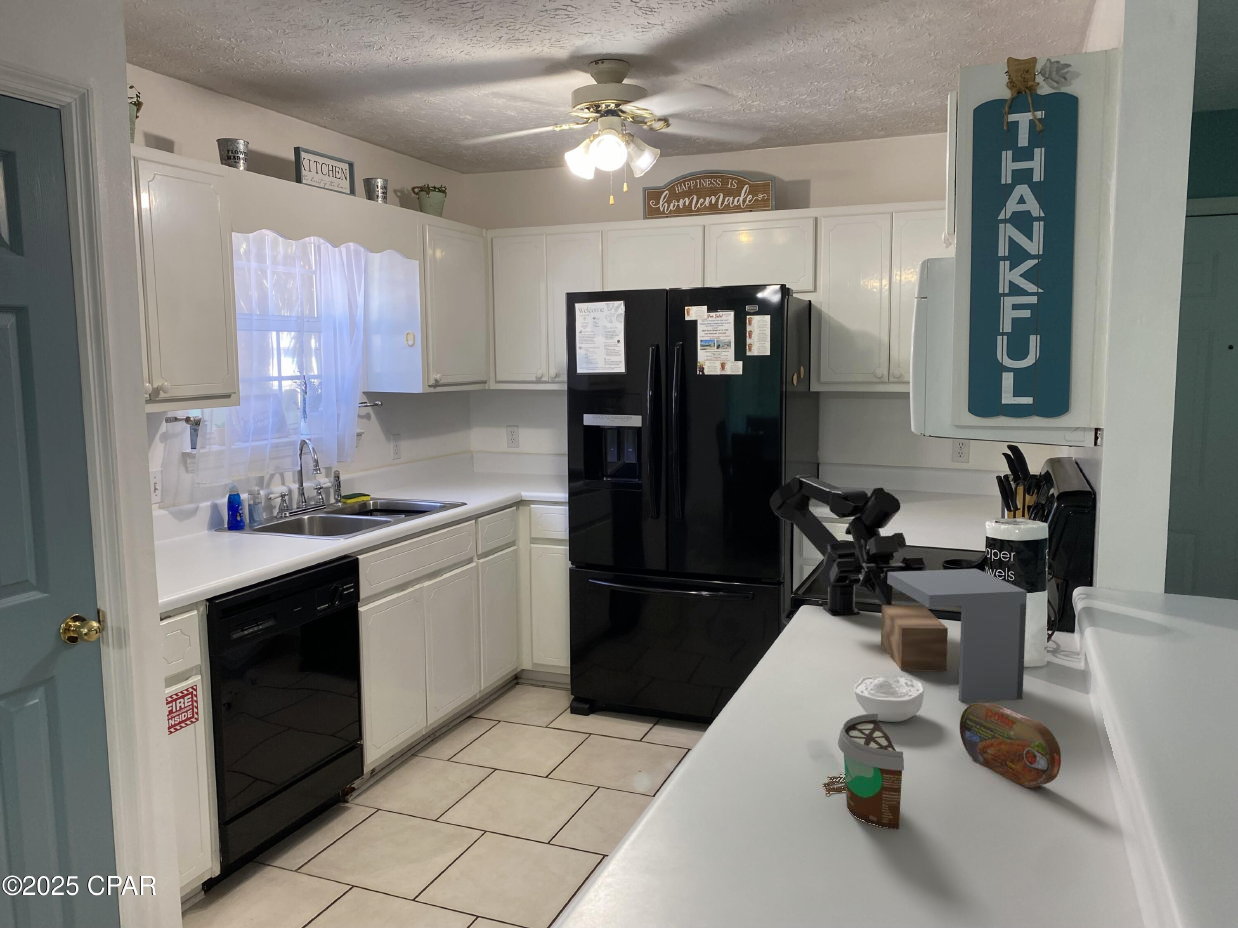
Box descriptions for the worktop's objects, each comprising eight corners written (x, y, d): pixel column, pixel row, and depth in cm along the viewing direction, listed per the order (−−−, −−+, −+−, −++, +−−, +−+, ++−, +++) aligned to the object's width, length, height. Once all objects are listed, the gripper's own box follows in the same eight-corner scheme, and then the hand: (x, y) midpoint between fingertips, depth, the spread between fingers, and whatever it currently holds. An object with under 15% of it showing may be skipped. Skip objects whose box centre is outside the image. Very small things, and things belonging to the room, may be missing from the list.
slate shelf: (885, 670, 158) (887, 572, 156) (972, 665, 160) (976, 568, 158) (926, 704, 142) (929, 595, 140) (1022, 698, 144) (1026, 591, 142)
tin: (956, 752, 125) (958, 694, 124) (973, 748, 126) (975, 691, 125) (1045, 799, 111) (1048, 735, 110) (1063, 794, 112) (1066, 730, 111)
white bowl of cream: (939, 717, 137) (940, 674, 136) (894, 737, 130) (895, 693, 129) (883, 698, 145) (884, 658, 144) (838, 717, 138) (838, 675, 137)
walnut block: (880, 644, 173) (881, 605, 172) (922, 645, 173) (923, 605, 172) (901, 671, 158) (902, 627, 157) (946, 671, 158) (947, 628, 157)
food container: (827, 785, 115) (828, 711, 114) (875, 785, 115) (876, 711, 114) (849, 835, 103) (850, 753, 102) (902, 835, 103) (904, 753, 102)
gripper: (835, 520, 178) (855, 587, 168) (923, 517, 180) (948, 583, 170) (821, 550, 186) (839, 616, 177) (905, 547, 189) (928, 612, 179)
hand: (889, 606), depth 175 cm, fingers closed
